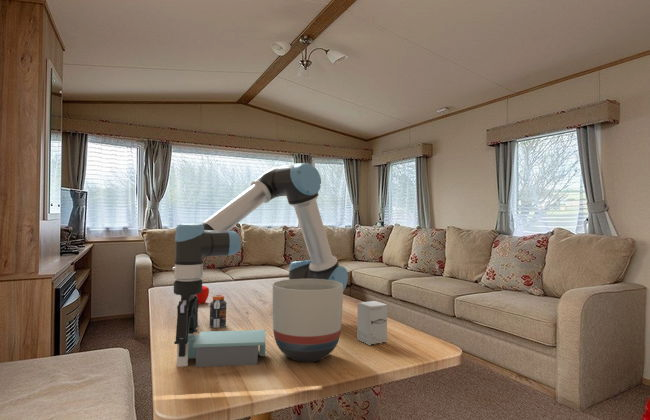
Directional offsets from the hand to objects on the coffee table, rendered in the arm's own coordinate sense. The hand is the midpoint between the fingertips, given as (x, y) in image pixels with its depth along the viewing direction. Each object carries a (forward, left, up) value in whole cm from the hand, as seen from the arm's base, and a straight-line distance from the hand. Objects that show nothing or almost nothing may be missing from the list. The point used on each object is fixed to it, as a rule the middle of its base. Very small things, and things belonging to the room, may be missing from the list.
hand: (185, 361), depth 104 cm
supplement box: (-57, -13, -1) cm, 58 cm away
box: (+7, -40, -1) cm, 41 cm away
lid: (-10, 0, +2) cm, 10 cm away
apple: (+10, -78, 0) cm, 79 cm away
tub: (-12, 0, 0) cm, 12 cm away
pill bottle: (-4, -37, 0) cm, 37 cm away
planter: (-34, 0, 0) cm, 34 cm away
